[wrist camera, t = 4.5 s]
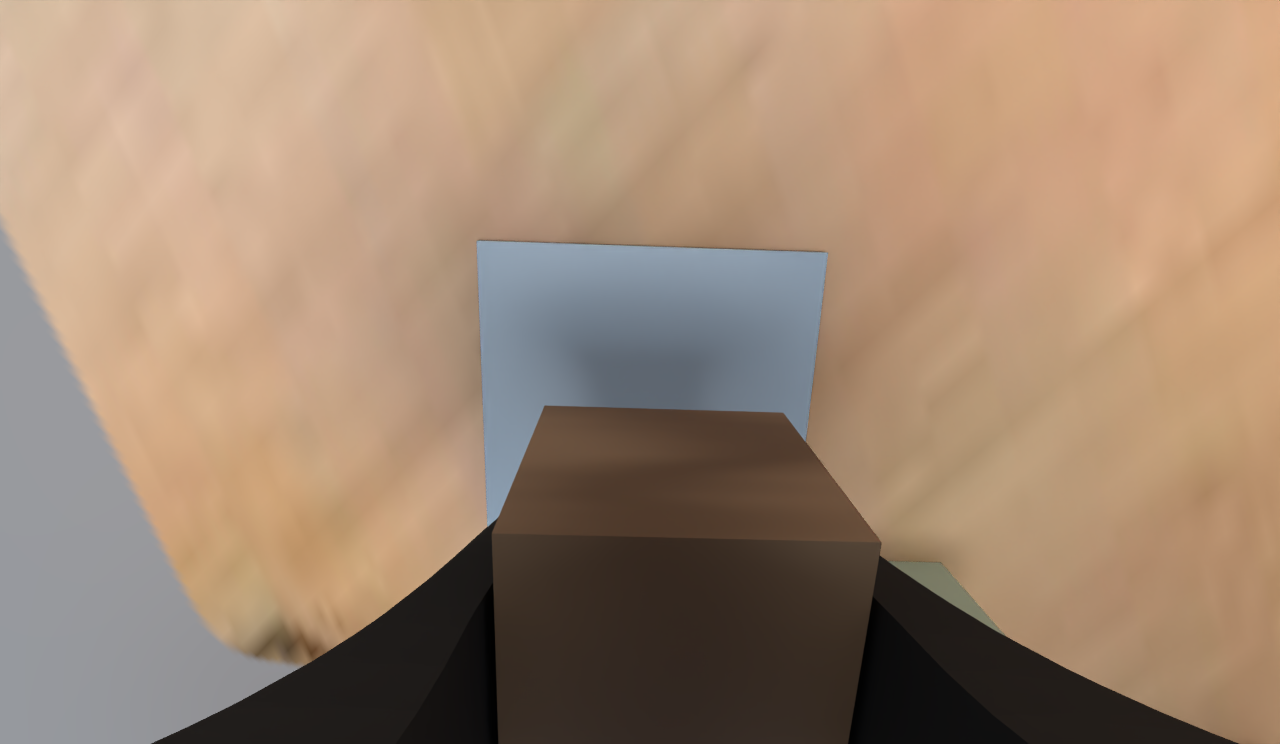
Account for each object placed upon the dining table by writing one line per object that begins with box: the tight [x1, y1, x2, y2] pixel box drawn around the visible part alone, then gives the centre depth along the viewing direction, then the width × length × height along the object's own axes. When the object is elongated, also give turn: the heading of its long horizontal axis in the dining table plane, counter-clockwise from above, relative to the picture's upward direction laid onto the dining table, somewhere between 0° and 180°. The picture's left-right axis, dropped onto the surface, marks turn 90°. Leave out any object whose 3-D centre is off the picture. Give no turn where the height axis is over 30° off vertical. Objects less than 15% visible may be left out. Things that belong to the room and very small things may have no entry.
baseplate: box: [477, 240, 828, 526], centre depth 18 cm, size 10×10×1 cm
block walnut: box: [492, 405, 882, 744], centre depth 10 cm, size 4×4×4 cm
